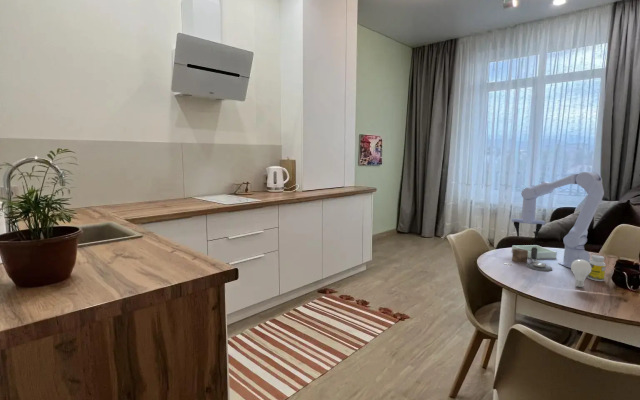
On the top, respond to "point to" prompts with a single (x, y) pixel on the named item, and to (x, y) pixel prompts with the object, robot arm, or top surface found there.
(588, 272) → the lightbulb
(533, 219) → the robot arm
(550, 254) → the tray
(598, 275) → the supplement bottle
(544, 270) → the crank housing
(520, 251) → the brown wooden block
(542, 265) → the crank
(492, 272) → the top surface
